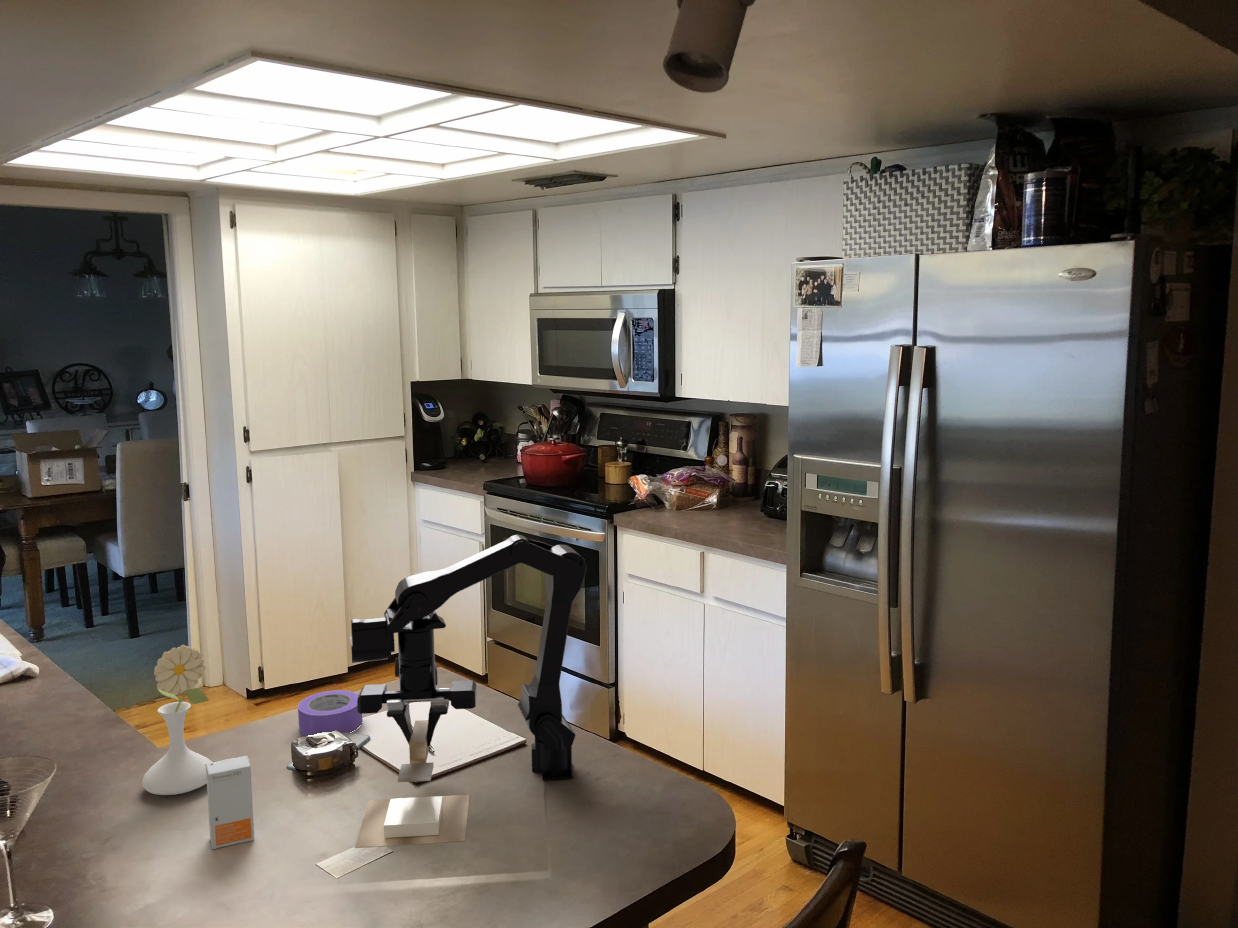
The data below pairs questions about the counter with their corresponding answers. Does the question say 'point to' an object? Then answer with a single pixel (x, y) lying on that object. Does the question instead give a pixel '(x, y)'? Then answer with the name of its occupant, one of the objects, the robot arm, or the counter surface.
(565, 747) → the robot arm
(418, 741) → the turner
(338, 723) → the tape roll
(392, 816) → the tile
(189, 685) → the flower in vase
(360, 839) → the tan flat board
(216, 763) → the skincare box
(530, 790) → the counter surface
